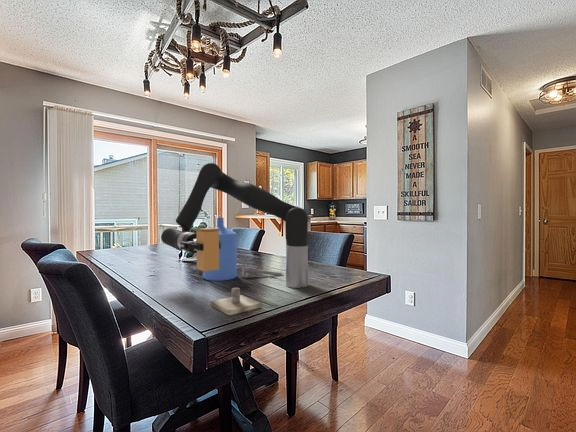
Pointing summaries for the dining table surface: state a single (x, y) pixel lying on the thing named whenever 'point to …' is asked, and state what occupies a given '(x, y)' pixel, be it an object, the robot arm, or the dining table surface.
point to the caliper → (257, 271)
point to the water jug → (225, 255)
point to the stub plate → (235, 303)
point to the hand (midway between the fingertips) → (211, 246)
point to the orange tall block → (208, 249)
